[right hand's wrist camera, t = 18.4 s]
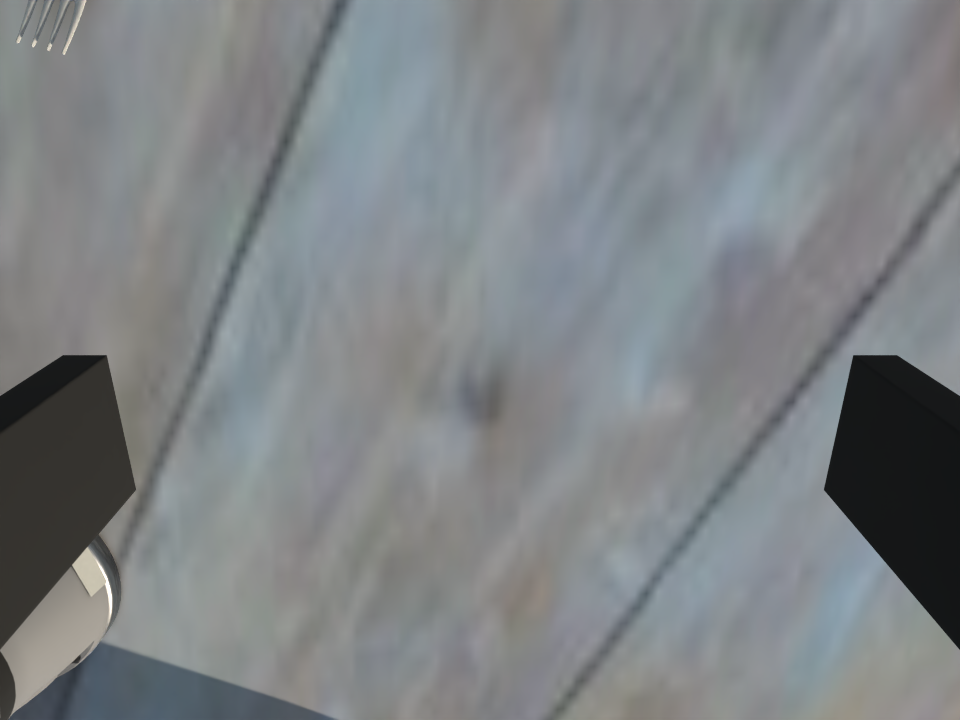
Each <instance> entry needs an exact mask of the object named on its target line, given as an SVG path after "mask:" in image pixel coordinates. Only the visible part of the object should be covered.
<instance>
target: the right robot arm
mask: <svg viewBox="0 0 960 720" xmlns="http://www.w3.org/2000/svg"><path fill="white" fill-rule="evenodd" d="M135 490H136V487H135V483H134V478H133V474H132V469H131V465H130V460H129V455H128V451H127V446H126V442H125V437H124V433H123V428H122V423H121V419H120V414H119V410H118V405H117V401H116V396H115V391H114V387H113V382H112V378H111V373H110V369H109V364H108V359H107V355H63V356H61V357H60V358H58V359H57V360H55V361H54V362H52V363H51V364H49V365H47V366H46V367H44V368H43V369H41V370H40V371H38V372H37V373H35V374H34V375H32V376H30V377H29V378H27V379H26V380H24V381H23V382H21V383H20V384H18V385H17V386H15V387H14V388H12V389H10V390H9V391H7V392H6V393H4V394H3V395H1V396H0V720H8V719H9V718H10V716H11V715H12V714H13V713H14V712H15V711H17V710H18V709H19V708H21V707H22V706H23V705H25V704H26V703H27V702H29V701H30V700H31V699H33V698H34V697H35V696H36V695H38V694H39V693H40V692H41V691H43V690H44V689H45V688H46V687H47V686H48V685H49V684H51V683H52V682H53V681H54V679H55V678H57V677H59V676H61V675H63V674H65V673H66V672H68V671H70V670H71V669H73V668H74V667H75V666H77V665H78V664H79V663H80V662H82V661H83V660H84V659H85V658H86V657H87V656H88V655H89V654H90V653H91V652H92V651H93V650H94V649H95V648H96V647H97V646H98V644H99V643H100V641H101V640H102V638H103V637H104V635H105V634H106V632H107V631H108V629H109V628H110V627H111V625H112V624H113V622H114V620H115V618H116V615H117V613H118V610H119V605H120V600H121V583H120V578H119V573H118V570H117V566H116V564H115V561H114V559H113V557H112V555H111V553H110V551H109V549H108V548H107V546H106V545H105V543H104V542H103V540H102V539H101V537H100V536H99V535H98V534H99V533H100V532H101V530H102V529H103V528H104V527H105V526H106V525H107V523H108V522H109V521H110V520H111V519H112V518H113V516H114V515H115V514H116V513H117V512H118V510H119V509H120V508H121V507H122V506H123V505H124V503H125V502H126V501H127V500H128V499H129V497H130V496H131V495H132V494H133V493H134V492H135ZM824 490H825V492H826V493H827V494H828V495H829V496H830V498H831V499H832V500H833V501H834V502H835V503H836V505H837V506H838V507H839V508H840V509H841V510H842V512H843V513H844V514H845V515H846V516H847V518H848V519H849V520H850V521H851V522H852V523H853V525H854V526H855V527H856V528H857V529H858V530H859V532H860V533H861V534H862V535H863V536H864V538H865V539H866V540H867V541H868V542H869V543H870V545H871V546H872V547H873V548H874V549H875V550H876V552H877V553H878V554H879V555H880V556H881V558H882V559H883V560H884V561H885V562H886V563H887V565H888V566H889V567H890V568H891V569H892V570H893V572H894V573H895V574H896V575H897V576H898V578H899V579H900V580H901V581H902V582H903V583H904V585H905V586H906V587H907V588H908V589H909V591H910V592H911V593H912V594H913V595H914V596H915V598H916V599H917V600H918V601H919V602H920V603H921V605H922V606H923V607H924V608H925V609H926V611H927V612H928V613H929V614H930V615H931V616H932V618H933V619H934V620H935V621H936V622H937V623H938V625H939V626H940V627H941V628H942V629H943V631H944V632H945V633H946V634H947V635H948V636H949V638H950V639H951V640H952V641H953V642H954V643H955V645H956V646H957V647H958V648H959V649H960V396H959V395H957V394H956V393H954V392H953V391H951V390H950V389H948V388H946V387H945V386H943V385H942V384H940V383H939V382H937V381H936V380H934V379H933V378H931V377H930V376H928V375H926V374H925V373H923V372H922V371H920V370H919V369H917V368H916V367H914V366H913V365H911V364H909V363H908V362H906V361H905V360H903V359H902V358H900V357H899V356H897V355H853V359H852V364H851V369H850V373H849V378H848V382H847V387H846V391H845V396H844V401H843V405H842V410H841V414H840V419H839V423H838V428H837V433H836V437H835V442H834V446H833V451H832V455H831V460H830V465H829V469H828V474H827V478H826V483H825V487H824Z"/></svg>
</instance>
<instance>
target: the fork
mask: <svg viewBox="0 0 960 720" xmlns="http://www.w3.org/2000/svg"><path fill="white" fill-rule="evenodd" d="M71 1H75V9H74V14H73V18H72V21H71V25H70V29H69V32H68V36H67V39H66V42H65V45H64V48H63V51H62V54H63V55H65V53H66V51H67V48H68V46H69V44H70V41H71V39H72V37H73V34H74V32H75V30H76V27H77V25H78V22H79V20H80V17H81V14H82V11H83V8H84V5H85V2H86V0H60V5H59V10H58V13H57V17H56V21H55V24H54V28H53V31H52V34H51V38H50V41H49V44H48V47H47V50H48V51H49V50H50V48H51V46H52V44H53V42H54V40H55V37H56V35H57V33H58V30H59V28H60V26H61V23H62V21H63V18H64V16H65V13H66V10H67V8H68V6H69V4H70V2H71ZM36 2H37V0H29V1H28V5H27V8H26V12H25V15H24V19H23V22H22V25H21V28H20V31H19V34H18V37H17V39H16V43H19V42H20V40H21V38H22V36H23V33H24V31H25V29H26V27H27V24H28V22H29V20H30V18H31V15H32V13H33V10H34V8H35V5H36ZM53 2H54V0H45V1H44V6H43V9H42V13H41V16H40V20H39V23H38V27H37V30H36V33H35V36H34V39H33V42H32V47H34V46H35V44H36V42H37V40H38V38H39V36H40V33H41V31H42V29H43V26H44V24H45V22H46V19H47V17H48V14H49V12H50V9H51V7H52V4H53Z"/></svg>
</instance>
